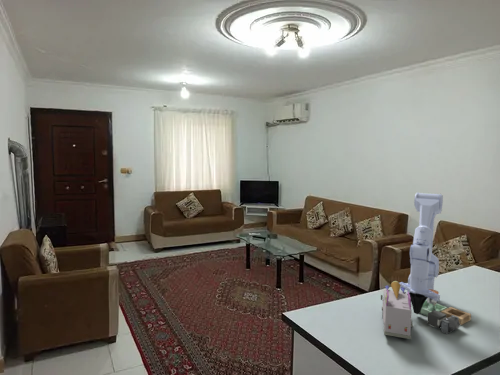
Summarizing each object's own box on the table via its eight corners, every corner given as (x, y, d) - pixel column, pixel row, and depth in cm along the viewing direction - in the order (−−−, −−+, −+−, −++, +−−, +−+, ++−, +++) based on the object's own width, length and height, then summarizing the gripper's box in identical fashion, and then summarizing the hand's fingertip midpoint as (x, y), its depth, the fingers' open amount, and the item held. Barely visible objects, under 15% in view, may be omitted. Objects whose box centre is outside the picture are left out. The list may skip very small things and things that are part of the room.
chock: (427, 324, 119) (427, 313, 119) (434, 320, 122) (435, 310, 121) (438, 329, 116) (439, 317, 116) (445, 325, 118) (446, 314, 118)
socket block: (440, 317, 124) (441, 311, 124) (450, 312, 128) (450, 306, 128) (461, 325, 118) (461, 319, 118) (470, 319, 122) (471, 314, 122)
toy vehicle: (406, 317, 124) (408, 277, 122) (413, 345, 105) (415, 299, 104) (379, 313, 127) (381, 274, 125) (381, 340, 108) (383, 294, 107)
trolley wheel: (438, 330, 115) (438, 319, 114) (448, 324, 119) (449, 313, 118) (450, 335, 111) (451, 324, 111) (461, 329, 115) (461, 318, 115)
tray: (413, 310, 129) (413, 305, 129) (426, 305, 134) (426, 299, 134) (434, 319, 123) (434, 313, 123) (447, 312, 128) (447, 307, 128)
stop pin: (423, 310, 129) (424, 290, 128) (429, 307, 131) (430, 288, 130) (433, 314, 125) (434, 294, 125) (439, 311, 127) (440, 292, 127)
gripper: (394, 273, 127) (392, 308, 128) (433, 285, 115) (430, 323, 116) (405, 269, 131) (403, 303, 132) (443, 281, 119) (441, 318, 120)
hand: (416, 312), depth 125 cm, fingers closed
